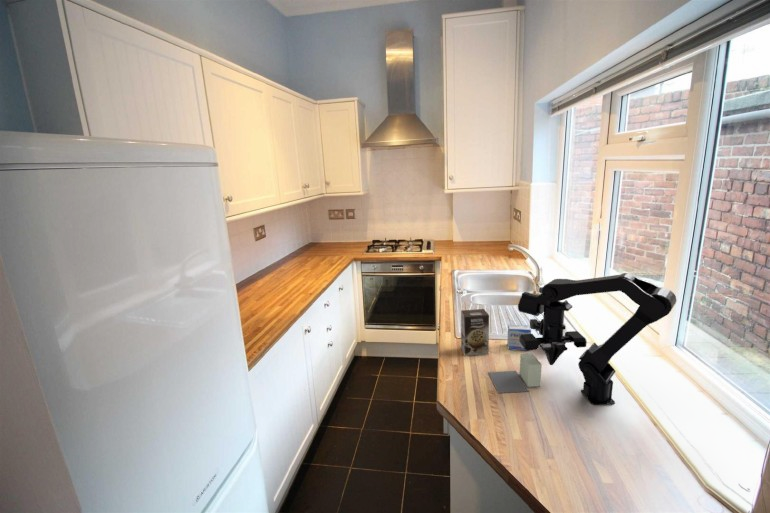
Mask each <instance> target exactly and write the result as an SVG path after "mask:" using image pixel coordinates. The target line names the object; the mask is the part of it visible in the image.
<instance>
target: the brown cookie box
mask: <svg viewBox="0 0 770 513" xmlns="http://www.w3.org/2000/svg"><path fill="white" fill-rule="evenodd" d="M460 327H461V328H460V335H461V336H460V349H461V352H462V353H463V355H464V357H470V356H471V357H472V356H483V355H484V356H485V355H486V356H487V355H489V348H490V347H489V346H490V345H489V344H490V343H489V342H490V336H489V334H490V315H489V313H488V312H487V311H486V309H485V308H479V309H464V310H463V309H462V310H460Z"/></svg>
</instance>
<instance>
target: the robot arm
mask: <svg viewBox="0 0 770 513" xmlns="http://www.w3.org/2000/svg"><path fill="white" fill-rule="evenodd" d="M612 292H620V293H622V294H625V295H626V297H627V298H629V299H630V300H631V301H632V302H634V303H635V304H636V305H638V307H637V309H636V310H635V312H634V314H633V315H631V316H630V317H629V318H628V319H627V320H626V321H625V322H624V323H623V324H622V325H621V326H620V327H619V328H618V329H617V330H616V331H615V332H614V333H613V334H612V335H610V337H608V338H607V339H606V340H605V341H604V342H603V343H602V344H599V345H598V344H596V342H593V343H592V345H590V347H589V348H587V349H586V350H585V351H584V352H583V353H582V354H581V355H580V357H578V360H579V362H578V369H579V371H580V372H581V373H582V376H583V379H584V382H583V386H582V387H583V388H582V389H581V391H580V392H581V393H582V395H583V396H584V397H585V398H586V399H587V400H588V401H589V403H590V404H591V405H593V406H597V405H598V406H599V405H615V404H616V402H615V400H614V399H613V398H612V396H613V387H614V380H612V377H613V376H614V375H615V373H616V370H615V369H614V367H613V366H612V365H611V364H610V363H609V362H610V361H611V359H612V358H613V356H614V355H616V354H617V353H619V351H620V350H621V349H623V348H624V347H625V346H626V345H627V344H628V343H629V342H630V341H631V340H633V339H634V337H636V336H637V335H638V334H639V333H640V332H641V331H643V329H645V328H646V327H647V326H649V325H651V324H653V323H656V322H658V321H660V320H661V319H662V318H665V317H666V316H668V315H669V314H670V313H671V312H672V310H673V308H674V307H675V306H676V303H677V296H676V294H675V293H674V292H673V291H672V290H671V289H668V288H666V287H659V286H657V285H656V284H654V282H653V283H652V282H650V281H647V280H643V279H642V278H639V277H637V276H635V275H634V274H631V273H629V272H624V273H621V274H614V275H608V276H600V277H594V278H584V279H578V280H576V279H575V280H574V279H568V278H555V279H553V280H551V281H549V282H547V283H546V284H545V285H544V286H543V287H542V289H541V293H540V294H534V293H531V292H527V291H524V292H522V293H521V296H520V299H519V301H518V305H517V309H518V311H519V312H520V313H524V314H527V315H531V316H534V317H538V316H540V315H543V318H542V319H540V320H538V319H536V318H532V319H531V318H530V319H529V326H530V329H531V330H535V331H536V332H538V334H539V335H540V336H541V337H536V336H535V335H534V334H533V333H531V334H522V335H521V336H520V337H519V342H520V343H521V344H522V346H523V347H524V348H525V350H524V351H527V350H530V351H537V350H538V349H539V347H540V348H541V349H542V351H543V352H544V354H545V356H546V359H547V362H548V364H549V365H550V366H553V365H554V364H555V363H556V361H557V360H558V359H559V357H560V356H561V355H562V354H563V353H564V352H565V351H568V347H567V346H566V343H573V345H574V347H575V348H577V349H578V348H586V347H587V344H588V343H587V342H588V341H587V339H586V337H585V336H583V335H582V334H581V333H580V332H579V331H577V330H573V331H567V332H566V333H565V336H563V329H565V327H566V326H565V325H564V322H565V312H569V311H570V310H571V309H572V308H573V305H572V304H571V303H569V301H568V300H567V299H569V298H573V297H576V296H583V295H593V294H601V293H612ZM563 300H564V301H563Z"/></svg>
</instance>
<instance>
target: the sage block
mask: <svg viewBox="0 0 770 513" xmlns="http://www.w3.org/2000/svg"><path fill="white" fill-rule="evenodd" d="M542 368H543V367H542V363H541V362H540V361H539V359H538V358H537V356H536V355H535V354H534V353H533V352H528V353H526V352H525V353H520V354H519V376H520V378H521V379H522V381H523V383H524V384H525V386H526V387H527V389H531V388H532V389H533V388H541V384H542Z"/></svg>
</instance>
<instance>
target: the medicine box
mask: <svg viewBox="0 0 770 513" xmlns="http://www.w3.org/2000/svg"><path fill="white" fill-rule="evenodd" d="M522 334H532V329H531V328H530V324H529V325H527V324H507V348H508V350H510V351H531V350H525V348H524V347H523V346H522V344H521V343H520V342H519V337H520V336H521V335H522Z"/></svg>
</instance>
